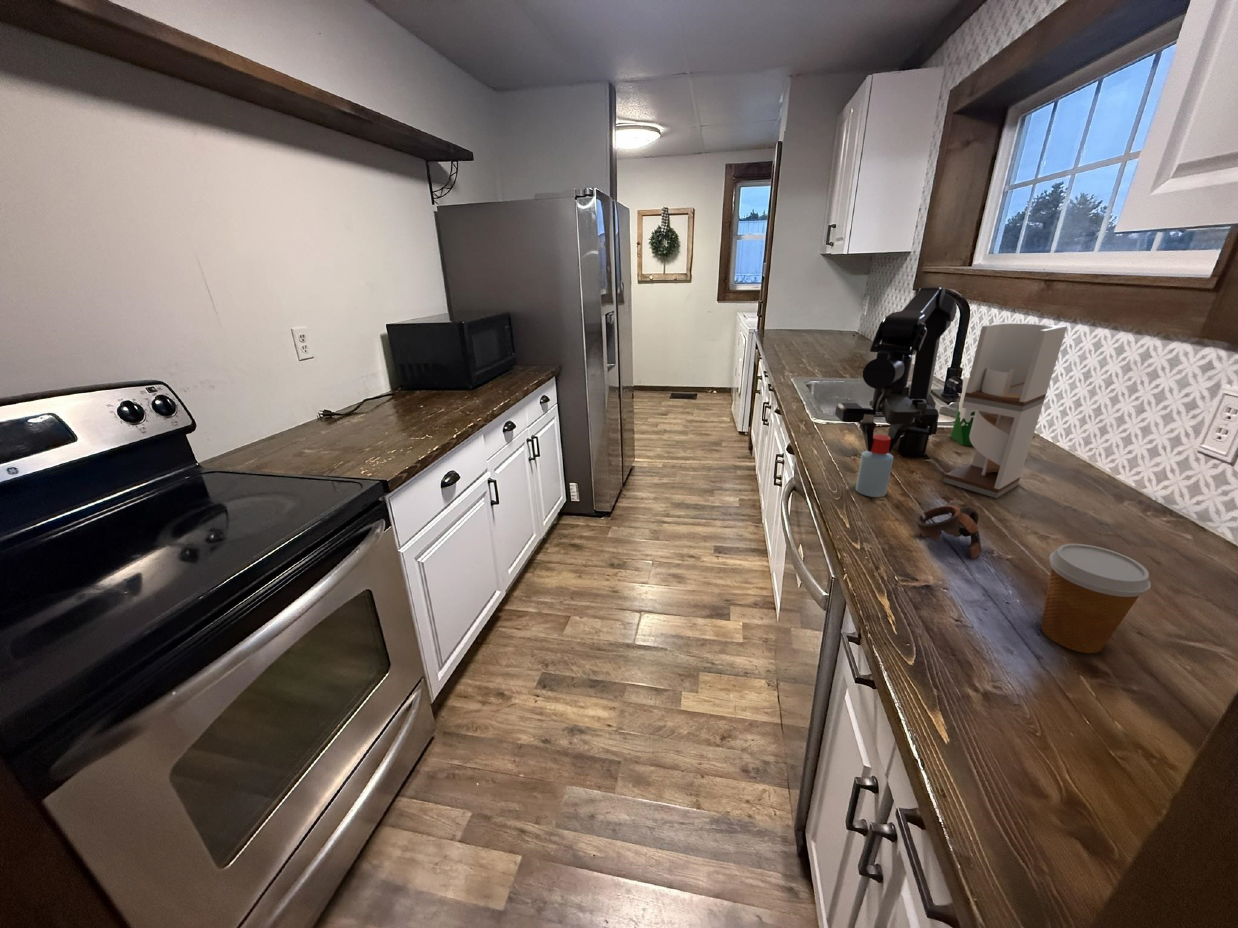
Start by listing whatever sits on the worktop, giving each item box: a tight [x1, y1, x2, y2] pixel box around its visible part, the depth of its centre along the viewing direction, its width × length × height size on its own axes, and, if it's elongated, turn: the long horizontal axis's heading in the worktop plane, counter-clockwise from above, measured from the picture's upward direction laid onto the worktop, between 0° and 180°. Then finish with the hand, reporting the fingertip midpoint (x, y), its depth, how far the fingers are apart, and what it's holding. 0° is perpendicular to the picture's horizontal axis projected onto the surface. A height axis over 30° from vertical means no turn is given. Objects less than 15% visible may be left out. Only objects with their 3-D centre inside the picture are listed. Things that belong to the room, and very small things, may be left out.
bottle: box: [855, 450, 895, 498], centre depth 108 cm, size 6×6×12 cm
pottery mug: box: [915, 504, 982, 560], centre depth 89 cm, size 12×10×8 cm
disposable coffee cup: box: [1040, 543, 1152, 654], centre depth 64 cm, size 10×10×12 cm
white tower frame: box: [942, 321, 1068, 499], centre depth 106 cm, size 11×11×35 cm
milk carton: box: [949, 375, 976, 447], centre depth 135 cm, size 9×9×20 cm
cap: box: [870, 434, 891, 454], centre depth 106 cm, size 4×4×3 cm
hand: (878, 451), depth 107 cm, fingers closed on cap, 4 cm apart
